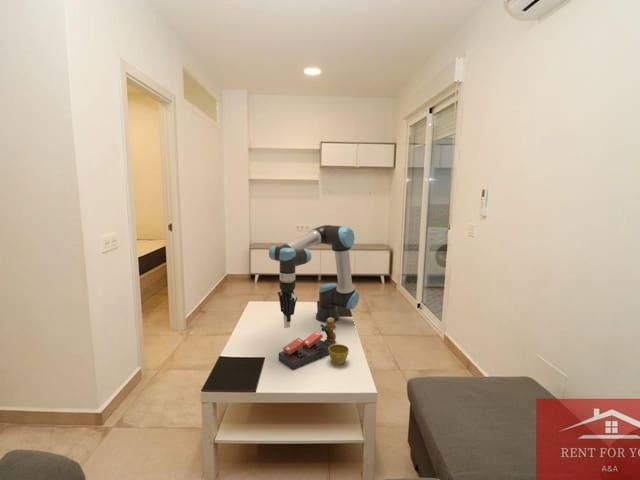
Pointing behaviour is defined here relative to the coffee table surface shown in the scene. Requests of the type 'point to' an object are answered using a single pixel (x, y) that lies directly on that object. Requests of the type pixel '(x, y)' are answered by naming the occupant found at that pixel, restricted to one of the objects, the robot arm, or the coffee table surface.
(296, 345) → the plate
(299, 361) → the power strip
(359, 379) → the coffee table surface
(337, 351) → the flower pot
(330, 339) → the figurine
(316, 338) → the rocker
